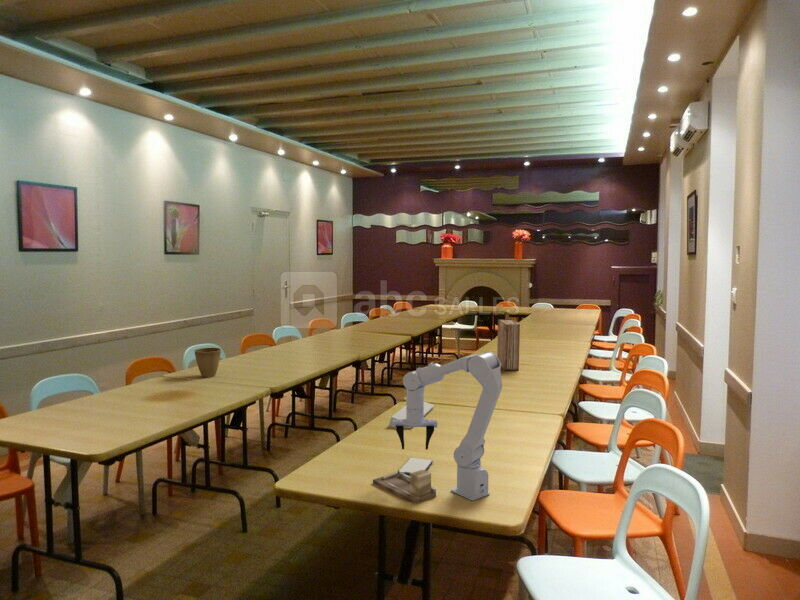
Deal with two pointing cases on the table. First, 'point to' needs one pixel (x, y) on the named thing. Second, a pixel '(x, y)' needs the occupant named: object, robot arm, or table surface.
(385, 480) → the board
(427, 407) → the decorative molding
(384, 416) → the table surface
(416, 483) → the block
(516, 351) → the tall wooden block
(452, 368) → the robot arm
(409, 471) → the smartphone
